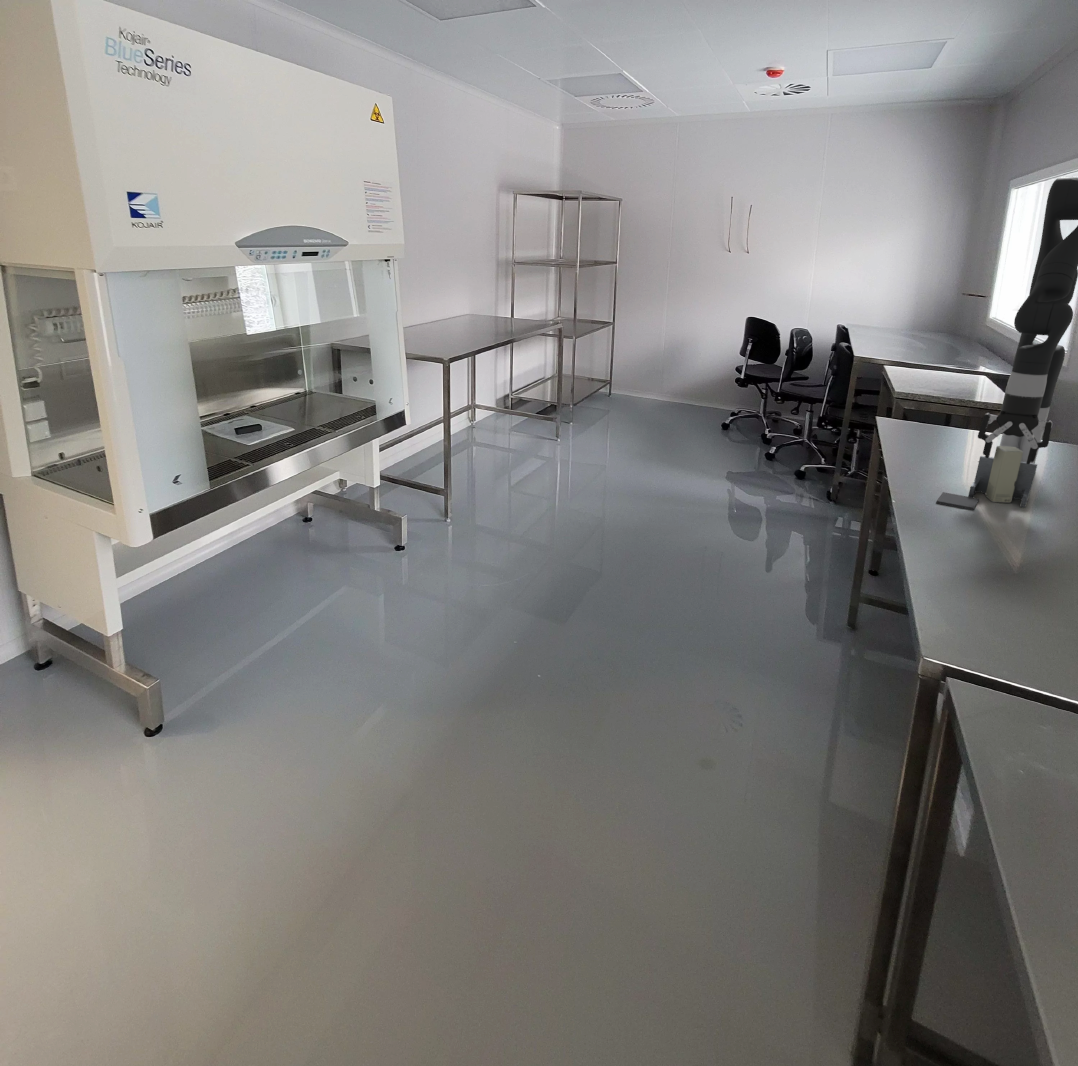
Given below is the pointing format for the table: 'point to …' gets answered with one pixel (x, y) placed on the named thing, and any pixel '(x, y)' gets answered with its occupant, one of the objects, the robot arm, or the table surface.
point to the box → (1004, 474)
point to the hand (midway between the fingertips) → (1007, 460)
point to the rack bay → (1022, 481)
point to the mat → (958, 501)
